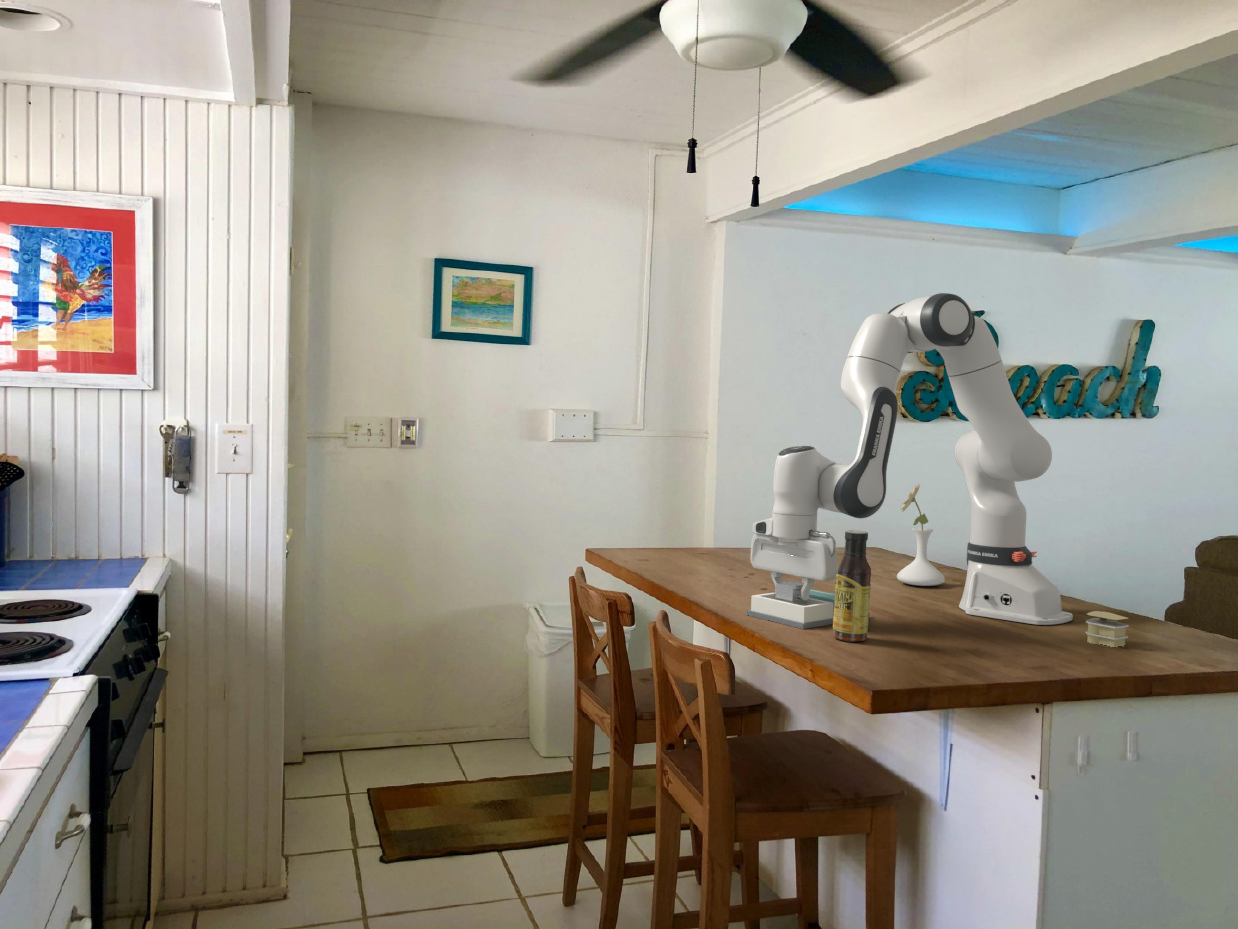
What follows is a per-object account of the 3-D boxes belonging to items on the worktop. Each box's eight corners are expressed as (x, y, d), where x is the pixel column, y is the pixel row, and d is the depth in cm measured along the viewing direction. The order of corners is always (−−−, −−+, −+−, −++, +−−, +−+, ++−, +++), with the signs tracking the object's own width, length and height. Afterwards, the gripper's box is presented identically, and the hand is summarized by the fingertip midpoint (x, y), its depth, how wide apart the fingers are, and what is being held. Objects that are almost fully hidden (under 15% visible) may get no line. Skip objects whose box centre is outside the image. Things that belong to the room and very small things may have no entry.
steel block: (807, 609, 193) (808, 584, 193) (792, 611, 190) (792, 586, 190) (790, 605, 196) (791, 581, 196) (775, 607, 194) (775, 582, 193)
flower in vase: (911, 579, 246) (915, 481, 245) (953, 586, 238) (957, 484, 237) (883, 584, 237) (887, 482, 236) (925, 591, 229) (930, 486, 228)
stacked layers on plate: (1145, 648, 177) (1147, 618, 176) (1114, 653, 172) (1116, 622, 172) (1095, 637, 185) (1096, 608, 185) (1064, 641, 181) (1066, 612, 181)
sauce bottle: (825, 636, 178) (829, 529, 177) (853, 634, 181) (857, 528, 180) (847, 644, 172) (851, 533, 171) (875, 642, 175) (880, 532, 174)
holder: (869, 617, 197) (870, 598, 196) (802, 629, 184) (803, 608, 184) (812, 605, 208) (813, 586, 208) (746, 615, 196) (747, 595, 196)
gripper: (846, 532, 186) (843, 604, 187) (768, 521, 202) (765, 587, 203) (824, 534, 182) (821, 607, 183) (746, 523, 198) (744, 590, 199)
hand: (791, 597), depth 193 cm, fingers closed on steel block, 4 cm apart
